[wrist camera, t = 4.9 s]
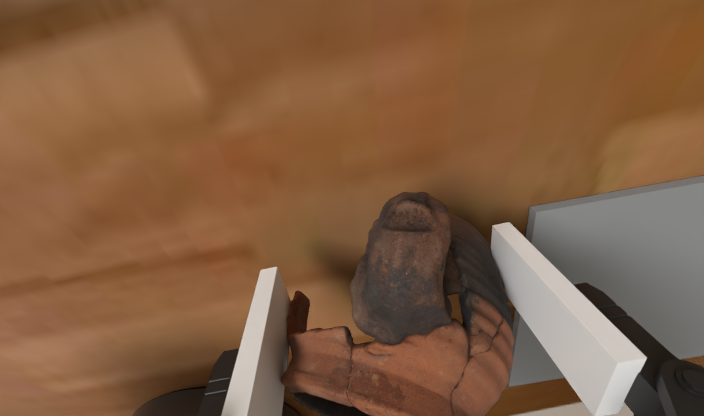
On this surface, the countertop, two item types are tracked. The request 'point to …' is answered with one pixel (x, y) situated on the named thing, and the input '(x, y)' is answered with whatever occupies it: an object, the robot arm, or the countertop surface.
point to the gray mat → (625, 264)
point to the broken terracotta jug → (410, 323)
